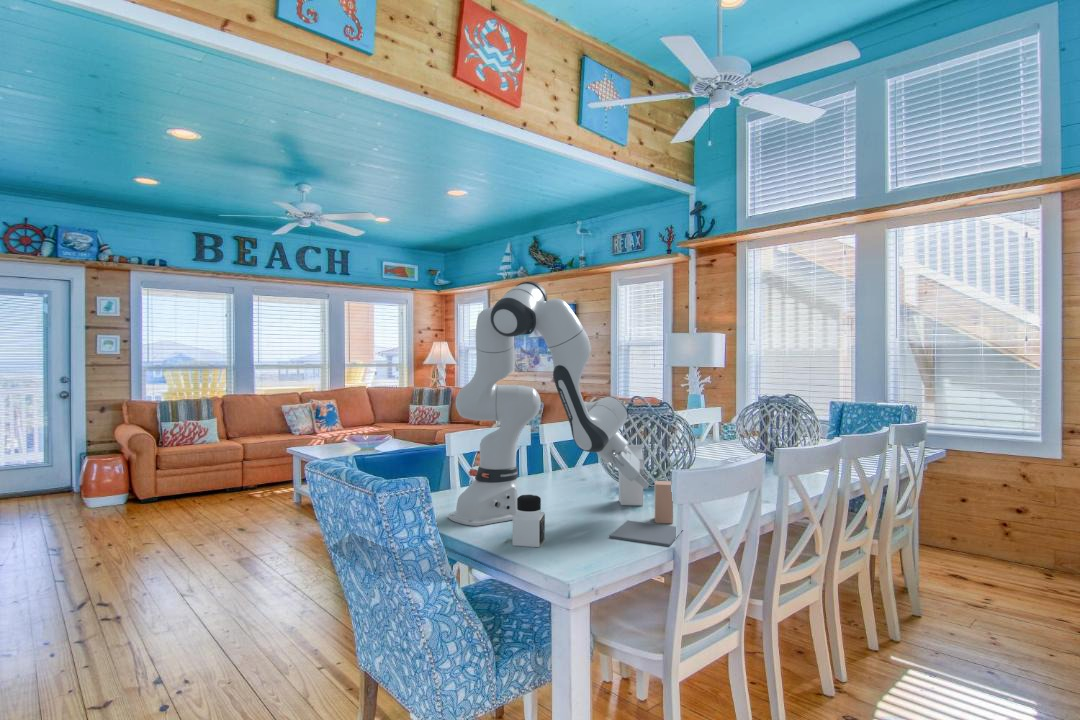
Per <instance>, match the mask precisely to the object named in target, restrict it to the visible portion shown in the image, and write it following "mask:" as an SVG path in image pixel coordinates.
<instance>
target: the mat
mask: <svg viewBox="0 0 1080 720" xmlns="http://www.w3.org/2000/svg"><path fill="white" fill-rule="evenodd" d="M676 527H677V526H674V525H673V526H672V525H666V524H661V523H652V522H651V523H650V522H645V521H644V522H643V521H635V520H626V521H625V522H623V523H622V525H620V526H619V527H618V528H617V529H616V530H614V531H613V532H612V533H611V534H609V535H608V536H609V538H610V539H614V538H615V540H621V539H622V541H628V540H629V542H635V541H636V543H642V542H644V543H643V544H649V543H650V544H649V545H657V546H665V547H671V546H672V544H674V542H675V541H676V540H675V538H676ZM676 539H677V538H676ZM637 541H638V542H637Z"/></svg>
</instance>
